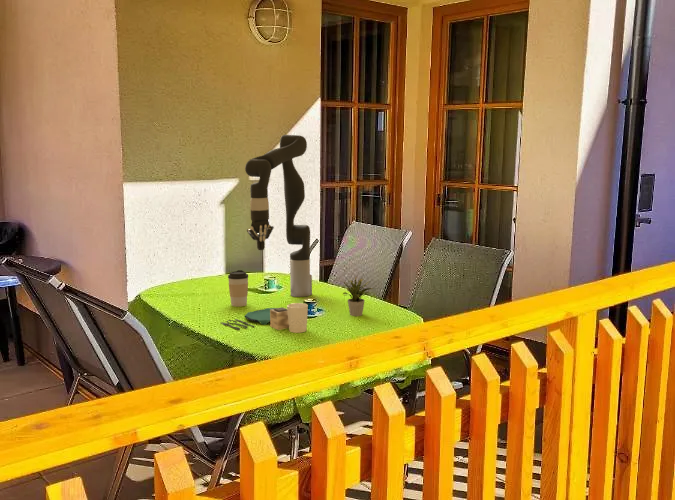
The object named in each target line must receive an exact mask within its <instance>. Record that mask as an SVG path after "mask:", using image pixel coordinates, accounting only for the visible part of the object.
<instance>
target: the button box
mask: <svg viewBox="0 0 675 500" xmlns="http://www.w3.org/2000/svg"><path fill="white" fill-rule="evenodd" d="M269 323H270V325H269V326H270V327H271V328H272V329H275V330H277V331H279V330H280V331H281V330H286V329H289V324H288V311H283V312H277V311H274V309H272V310H270V322H269Z"/></svg>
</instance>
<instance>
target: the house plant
mask: <svg viewBox="0 0 675 500" xmlns="http://www.w3.org/2000/svg"><path fill="white" fill-rule="evenodd" d="M363 280H364V278H360V279H359V280H358V282H357V277H355V278H354V282H353V281H352V280H350V279H349V282H350V285H351V286H350V285H349V284H348V282H347V281H341V283H343V284H344V285H345V286H346V287H347V288H346V291H348V292H343V293H342V295H343V297H344V296H346V295H348V296H349V297H350V298H348V299H347V304H348V309H349V315H350V317H351V316H352V317H360V316H363V311H364V307H365V299H364V298H362V297H364V296H370V295H372V293H371V292H370V290H373V289H374V288H373V287H372V288H371V287H366V286H367V285H368V284H369V283H371V280H370V281H367V282H366V283H365V284H362V283H363ZM364 287H366V288H364Z"/></svg>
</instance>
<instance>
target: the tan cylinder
mask: <svg viewBox="0 0 675 500" xmlns="http://www.w3.org/2000/svg"><path fill="white" fill-rule="evenodd" d="M308 307H309V305H308V304H307V303H304V302H303V303H302V302H293V303H288V304H287V305H286V309H287V311H288V324H289V328H288V331H289V332H290V333H294V334H296V333H297V334H301V333H305V332H307V327H308V326H307V324H308V312H309V311H308V310H309V309H308Z"/></svg>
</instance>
